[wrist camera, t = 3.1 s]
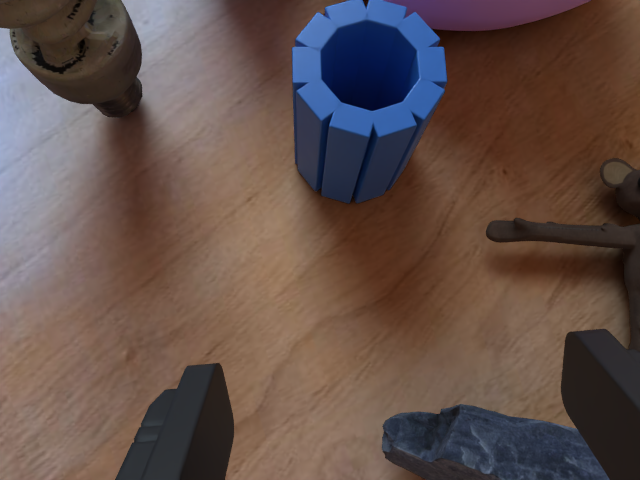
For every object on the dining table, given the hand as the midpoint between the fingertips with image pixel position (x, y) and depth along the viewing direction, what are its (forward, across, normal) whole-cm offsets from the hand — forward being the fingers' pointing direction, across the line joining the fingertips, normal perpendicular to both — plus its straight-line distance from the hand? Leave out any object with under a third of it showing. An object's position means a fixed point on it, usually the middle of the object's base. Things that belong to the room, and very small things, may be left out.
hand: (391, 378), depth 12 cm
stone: (+10, -6, +13) cm, 18 cm away
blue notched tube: (+19, 0, -1) cm, 19 cm away
